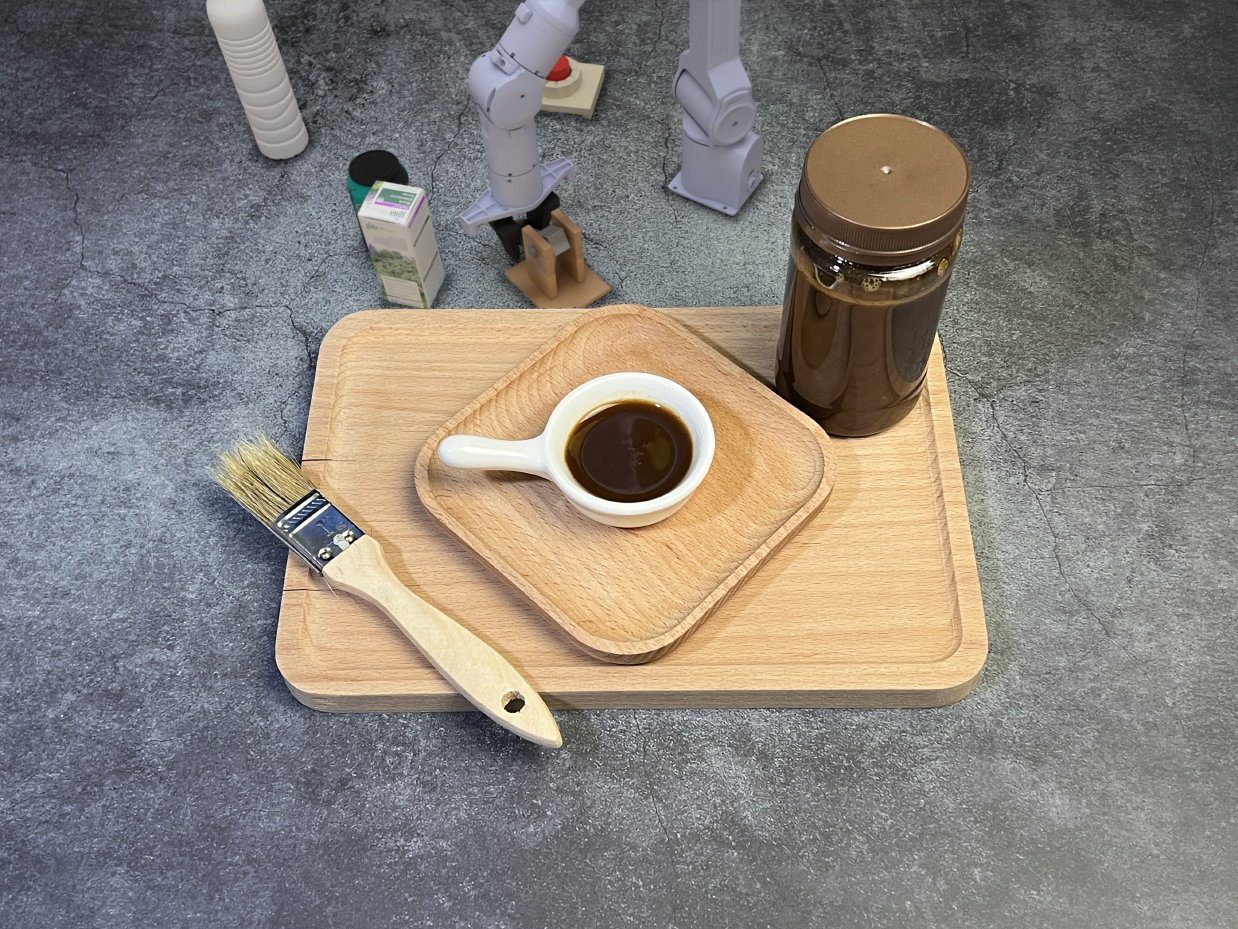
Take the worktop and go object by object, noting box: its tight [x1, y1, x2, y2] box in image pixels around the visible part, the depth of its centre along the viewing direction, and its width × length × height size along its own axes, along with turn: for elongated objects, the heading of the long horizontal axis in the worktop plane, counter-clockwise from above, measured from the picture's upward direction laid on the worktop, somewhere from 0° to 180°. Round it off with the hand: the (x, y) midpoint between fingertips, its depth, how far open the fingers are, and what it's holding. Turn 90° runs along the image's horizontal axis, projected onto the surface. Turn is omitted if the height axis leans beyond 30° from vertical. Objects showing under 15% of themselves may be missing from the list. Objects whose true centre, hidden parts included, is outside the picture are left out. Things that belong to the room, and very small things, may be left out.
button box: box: [539, 55, 606, 120], centre depth 146 cm, size 11×9×4 cm
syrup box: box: [357, 180, 446, 309], centre depth 123 cm, size 6×6×14 cm
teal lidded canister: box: [346, 149, 412, 254], centre depth 128 cm, size 7×7×12 cm
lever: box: [515, 217, 570, 257], centre depth 125 cm, size 10×3×3 cm, turn 38°
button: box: [545, 54, 570, 82], centre depth 144 cm, size 4×4×2 cm
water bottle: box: [205, 0, 309, 160], centre depth 134 cm, size 9×6×25 cm
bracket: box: [504, 208, 612, 309], centre depth 125 cm, size 10×8×9 cm
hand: (525, 248), depth 130 cm, fingers closed on lever, 3 cm apart
